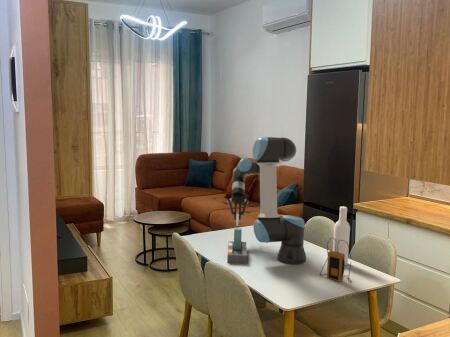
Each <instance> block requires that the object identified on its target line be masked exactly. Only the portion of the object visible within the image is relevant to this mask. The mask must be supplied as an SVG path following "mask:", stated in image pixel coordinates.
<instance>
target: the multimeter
mask: <svg viewBox="0 0 450 337" xmlns="http://www.w3.org/2000/svg"><path fill="white" fill-rule="evenodd" d="M331 239H332V237H330V238H329V240H327V245H326V252H327V258H326V261H325V262H324V265H323V266H322V268H321V271H320V272H319V276H325V275H326V279H328V280H333V281H336V282H339V283H340V282H342V281H343V280H344V277H345V275H344V274H345V261H344V259H345V254H343V253H339V252H338V247H337V252H336V246H335V251H333V250H330V251H329V249H328V244H329V242H330V240H331ZM334 239H335V238H334V237H333V240H334ZM335 241H336V240H335ZM340 241H344V240H340ZM345 242H346V241H345ZM338 243H339V242H338ZM346 243H347V242H346ZM347 245H348V244H347ZM348 247H349V250H348V251H351V249H350V245H349V246H348ZM349 255H350V258H352V254H351V252H349ZM326 263H327V265H326ZM325 265H326V266H327V268H326V273H324V274H322V271H323V269H324V267H325ZM351 267H352V263H350V264H349V269H351ZM350 273H351V270H349V271H348V276H350ZM346 279H348V280H347V281H348V282H350V283H352V279H351V278H350V277H346Z"/></svg>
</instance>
